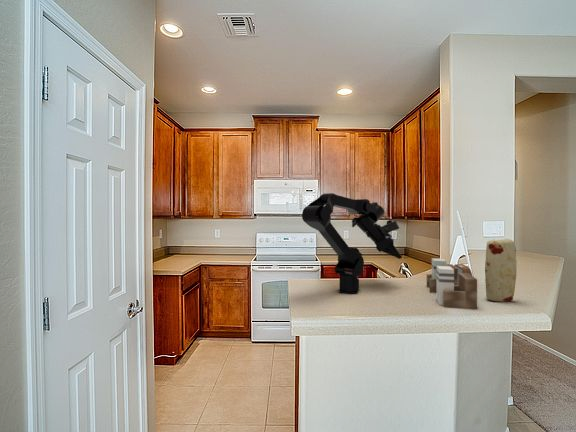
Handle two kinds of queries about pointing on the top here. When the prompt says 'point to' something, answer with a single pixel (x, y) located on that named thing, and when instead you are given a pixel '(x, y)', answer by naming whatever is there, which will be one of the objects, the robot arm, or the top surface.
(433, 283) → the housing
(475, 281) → the housing
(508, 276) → the food model
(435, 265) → the pale green box
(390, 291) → the top surface
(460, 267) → the tin
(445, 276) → the white rectangular block
